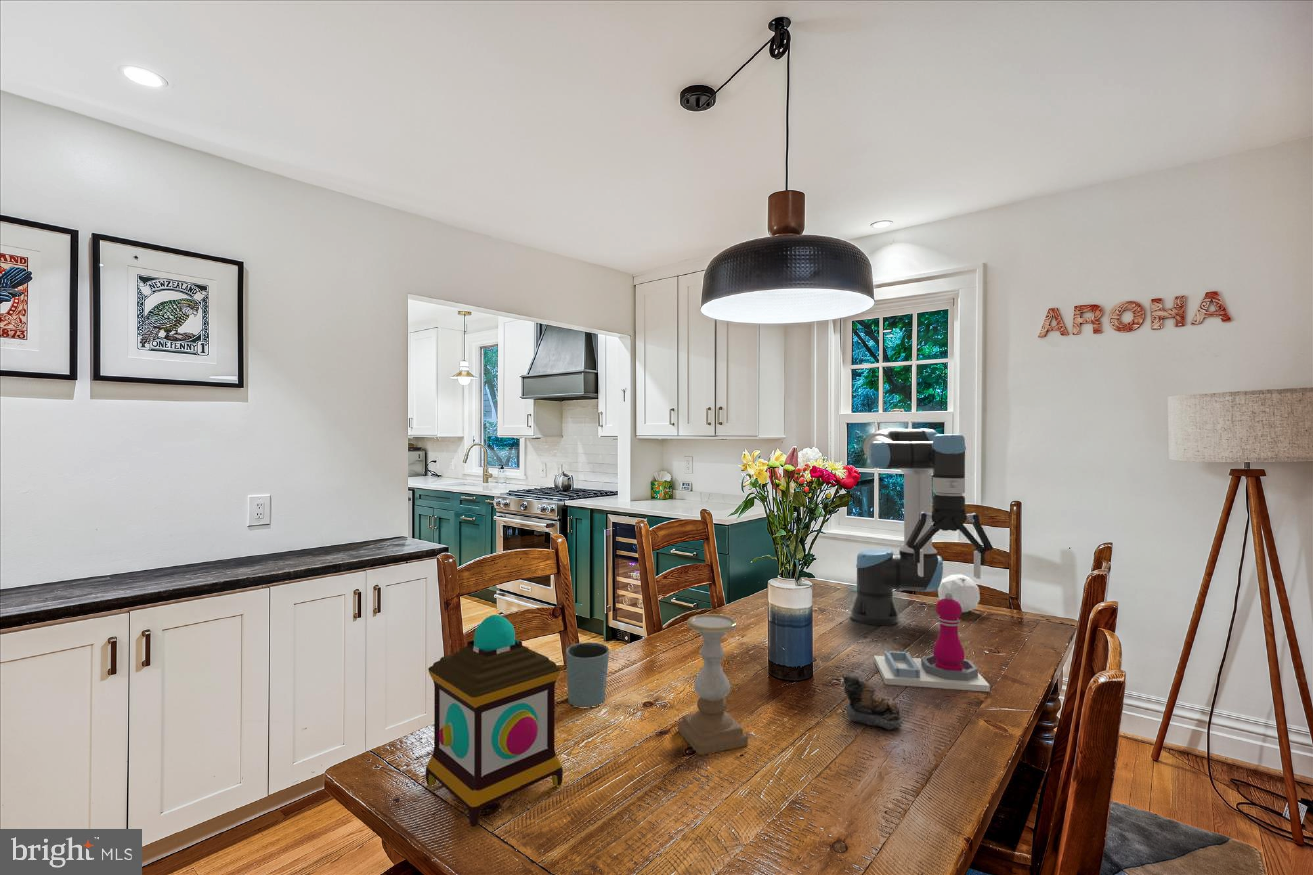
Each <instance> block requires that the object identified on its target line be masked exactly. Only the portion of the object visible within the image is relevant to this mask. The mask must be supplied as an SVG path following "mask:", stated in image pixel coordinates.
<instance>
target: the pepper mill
mask: <svg viewBox="0 0 1313 875" xmlns="http://www.w3.org/2000/svg"><path fill="white" fill-rule="evenodd" d="M952 598H953V596H952V594H951V593H946V594H945V599H941V600H939V599H938V601H937V602H936V604H935V610H936V613H937V614H938V615H939V616H938V617H937V619H938V620H937V622H938V624H939V628H940V629H939V634H938V637H937V638H936V639H937V640H936V641H935V643H934V646H933V649H932V650H933V651H932V654H934V656H935V657H936V659H937V661H936V662H935V667H938V668H941V669H944V670H953V671H962V665H961V664H960V663H961V662H962V661H963V660H964V659H965V651H964V648H963V646H962V643H961V641H960V639H959V635H958V633H959V632H958V631H959V630H958V629H959V628H958V627H959V626H960V625H961V623H960V619H959V618H960V617H961V615H962V614H963V613H962V608H961V605H960V604H959V603H958V602H957V601H955V600H953V599H952Z"/></svg>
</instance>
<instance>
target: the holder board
mask: <svg viewBox="0 0 1313 875" xmlns="http://www.w3.org/2000/svg"><path fill="white" fill-rule="evenodd" d="M873 661H874V662H873V663H874V664H875V666H876V668H877V670H878V672H879V674H880V676H881V678H882V680H883V682H884V684H885V685H893V686H905V687H916V688H917V687H918V688H919V687H920V688H930V689H931V688H932V689H933V688H935V689H947V690H961V691H974V692H975V691H976V692H987V693H989V692H991V687H990V686H991V685H990V684H989V683H988V682H987V681H986V680H985V678H984V677H983V676H982V675H981V674H980V673H979V668H978V667H977V666H976V664H975V663H974V662H973V661H972V660H969V659H966V658H964V660H963V661H962V662H961V663H960V664H961V665H962V671H953V670H944V669H941V668H938V667H935V662H936V661H937V659H936V657H935V656H934V654H933V653H931V654H929V655H925V656H922V657H921V658H920V657H919V658H918V657H917V658H916V657H912V656H911V654H910V652H908V651H893V650H885V651H884V655H873Z"/></svg>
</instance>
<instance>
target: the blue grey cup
mask: <svg viewBox="0 0 1313 875" xmlns="http://www.w3.org/2000/svg"><path fill="white" fill-rule="evenodd" d="M609 656H610V648H609V647H608V646H607V645H606V644H603V643H599V642H579V643H575V644H571V645H570V646H568V647H567V648H566V649H565V659H566V660H565V661H566V678H567V683H566V684H567V698H568V699H567V700H568V701H569V702H568V704H569V703H570V704H572V705H573V706H577V707H592V706H597V705H599V704H601V703H603V702H604V700H605V701H606V696H607V695H606V690H607V676H608V667H609V660H610V659H609V658H610V657H609ZM604 703H605V702H604ZM604 703H603V704H604ZM570 704H569V705H570ZM573 706H572V707H573Z"/></svg>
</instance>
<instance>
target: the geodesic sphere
mask: <svg viewBox="0 0 1313 875" xmlns="http://www.w3.org/2000/svg"><path fill="white" fill-rule="evenodd" d="M946 593H951V594H952V596H953V598H952V599H953V600H955V601H957V602H958V603H959V604H960V605H961V608H962V613H961V614H963V613H968V612H969V611H972V610H974V609H976V608H977V606H978V604H979V602H980V601H981V596H980V588H979V586H978V585H977V584H976V583H975V582H974V580H973V579H972V578H970V577H968V576H966V575H964V574H956V573H955V574H950V575H948V576H946V577H944V578H942V580H941V584H940V586H939V588H938V589H937V594H938V601H939V600H941V599H945V594H946Z"/></svg>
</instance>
